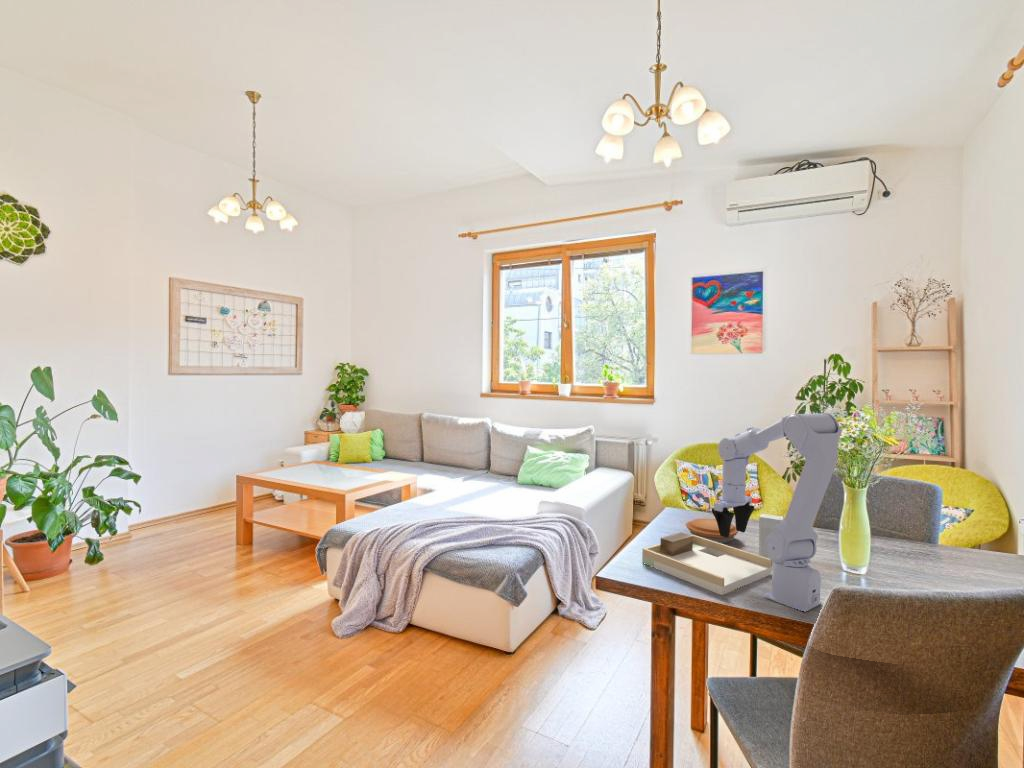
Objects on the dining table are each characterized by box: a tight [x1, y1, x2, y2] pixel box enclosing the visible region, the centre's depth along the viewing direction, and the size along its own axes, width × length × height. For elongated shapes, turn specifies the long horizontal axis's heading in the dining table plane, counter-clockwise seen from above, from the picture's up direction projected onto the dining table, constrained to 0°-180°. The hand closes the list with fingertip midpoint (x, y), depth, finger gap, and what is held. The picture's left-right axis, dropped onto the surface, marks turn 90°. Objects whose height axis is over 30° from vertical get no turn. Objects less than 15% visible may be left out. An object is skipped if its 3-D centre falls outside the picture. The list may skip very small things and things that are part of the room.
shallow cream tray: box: [641, 534, 772, 596], centre depth 138 cm, size 24×22×4 cm
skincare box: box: [758, 513, 785, 559], centre depth 145 cm, size 6×4×12 cm
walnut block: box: [659, 531, 693, 556], centre depth 145 cm, size 4×9×4 cm, turn 125°
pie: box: [685, 518, 739, 545], centre depth 163 cm, size 15×16×5 cm
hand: (732, 533), depth 138 cm, fingers open, 7 cm apart
